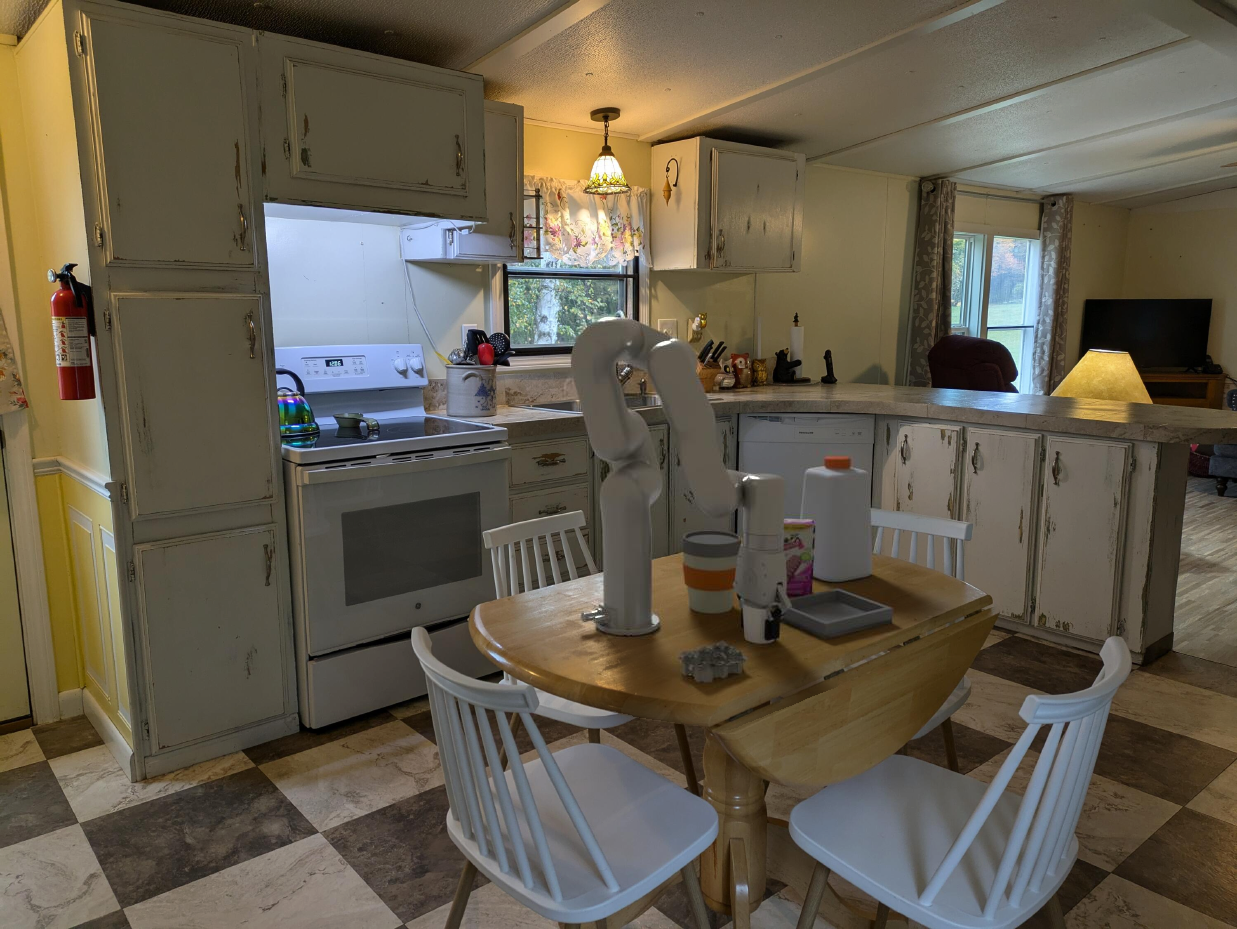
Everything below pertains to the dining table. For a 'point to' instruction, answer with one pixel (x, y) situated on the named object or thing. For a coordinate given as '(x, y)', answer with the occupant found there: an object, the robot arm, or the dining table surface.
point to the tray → (836, 613)
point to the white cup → (754, 621)
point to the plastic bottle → (839, 519)
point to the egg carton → (712, 662)
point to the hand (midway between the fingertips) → (759, 632)
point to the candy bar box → (799, 555)
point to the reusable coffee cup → (710, 569)
